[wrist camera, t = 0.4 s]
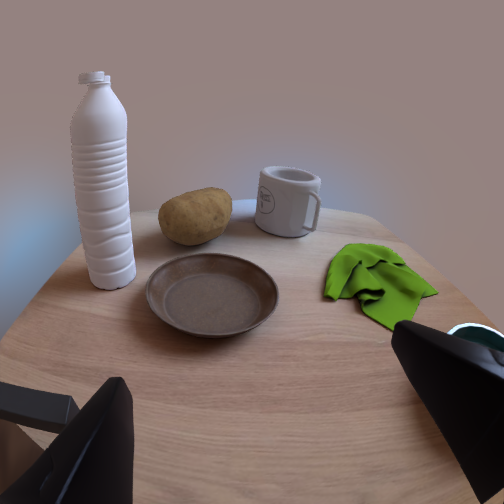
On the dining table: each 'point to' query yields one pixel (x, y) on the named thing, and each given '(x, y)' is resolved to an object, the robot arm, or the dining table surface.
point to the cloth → (377, 282)
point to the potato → (196, 216)
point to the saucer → (212, 294)
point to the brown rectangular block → (15, 453)
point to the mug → (288, 201)
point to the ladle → (36, 408)
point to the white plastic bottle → (102, 183)
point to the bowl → (479, 335)
